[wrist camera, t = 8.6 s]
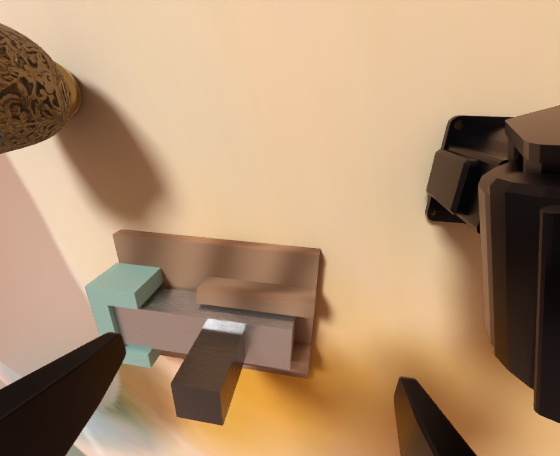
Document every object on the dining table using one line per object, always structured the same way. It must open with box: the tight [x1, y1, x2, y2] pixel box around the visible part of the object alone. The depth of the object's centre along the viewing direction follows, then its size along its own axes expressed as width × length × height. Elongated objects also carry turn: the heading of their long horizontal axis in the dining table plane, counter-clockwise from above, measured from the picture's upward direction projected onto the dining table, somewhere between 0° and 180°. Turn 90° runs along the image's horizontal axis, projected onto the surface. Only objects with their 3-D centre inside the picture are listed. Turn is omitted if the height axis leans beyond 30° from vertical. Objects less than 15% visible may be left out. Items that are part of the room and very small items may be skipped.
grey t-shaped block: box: [113, 287, 296, 426], centre depth 20 cm, size 14×4×8 cm, turn 88°
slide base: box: [113, 230, 320, 379], centre depth 24 cm, size 17×13×3 cm
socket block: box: [85, 263, 163, 368], centre depth 23 cm, size 4×8×4 cm, turn 178°
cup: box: [0, 23, 81, 154], centre depth 16 cm, size 8×7×8 cm
